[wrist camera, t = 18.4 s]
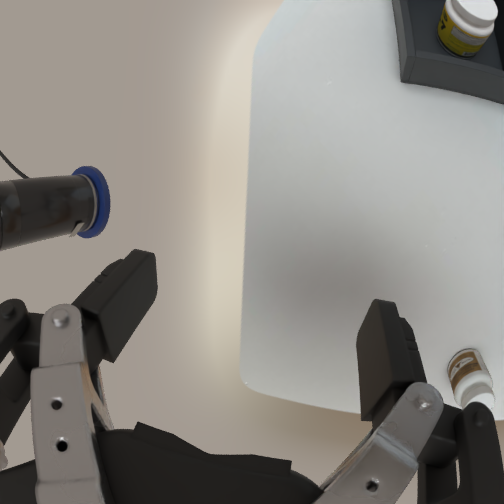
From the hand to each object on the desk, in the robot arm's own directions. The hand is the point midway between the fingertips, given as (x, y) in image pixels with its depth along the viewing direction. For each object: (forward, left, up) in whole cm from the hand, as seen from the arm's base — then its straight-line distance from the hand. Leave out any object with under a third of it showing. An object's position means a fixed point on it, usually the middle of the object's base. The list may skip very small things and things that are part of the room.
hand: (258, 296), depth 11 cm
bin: (+7, +23, -20) cm, 31 cm away
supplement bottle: (+8, +23, -19) cm, 31 cm away
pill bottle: (+20, -9, -20) cm, 30 cm away
